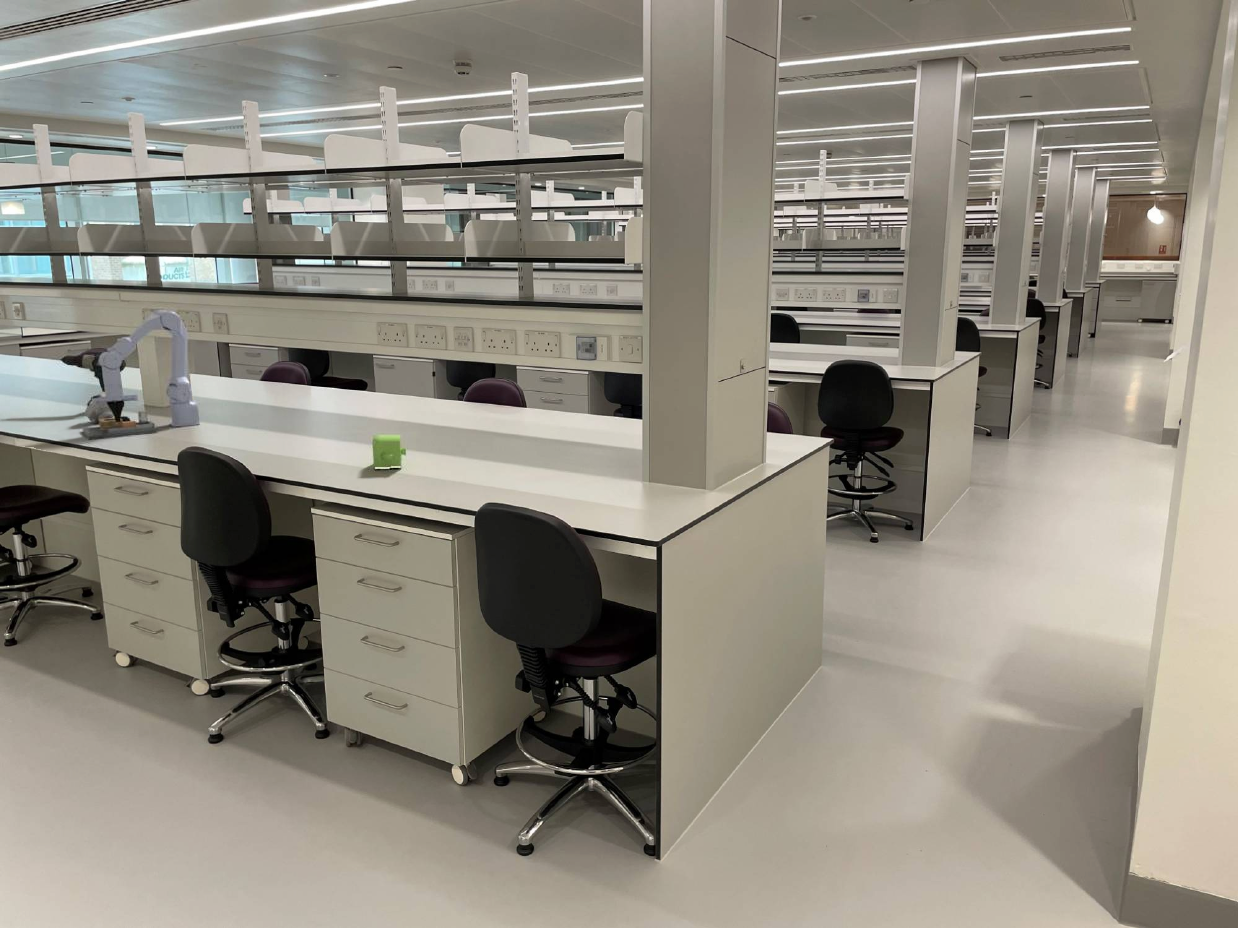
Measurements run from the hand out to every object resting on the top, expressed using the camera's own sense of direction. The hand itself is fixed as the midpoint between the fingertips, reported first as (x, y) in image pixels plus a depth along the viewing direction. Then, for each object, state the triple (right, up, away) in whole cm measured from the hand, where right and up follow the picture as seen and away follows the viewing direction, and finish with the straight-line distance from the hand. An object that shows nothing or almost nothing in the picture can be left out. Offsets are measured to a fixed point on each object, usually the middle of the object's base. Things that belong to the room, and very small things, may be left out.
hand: (118, 421), depth 324 cm
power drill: (-31, +6, +39) cm, 50 cm away
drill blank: (+7, -2, +6) cm, 9 cm away
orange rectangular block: (+3, -2, +3) cm, 5 cm away
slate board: (-1, -4, +2) cm, 5 cm away
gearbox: (+112, -17, -43) cm, 121 cm away
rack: (-5, -2, +4) cm, 7 cm away
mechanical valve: (-12, 0, +17) cm, 21 cm away
